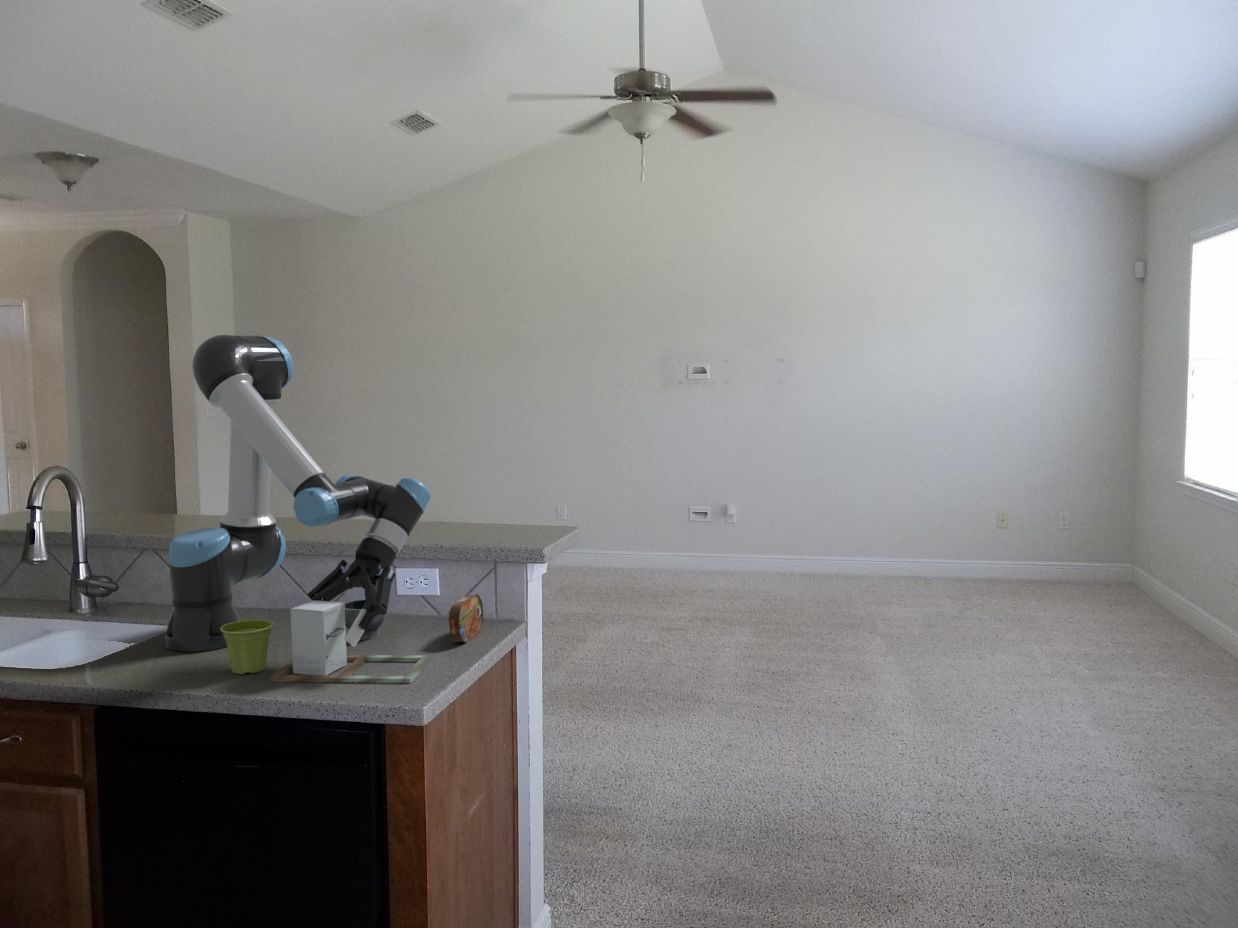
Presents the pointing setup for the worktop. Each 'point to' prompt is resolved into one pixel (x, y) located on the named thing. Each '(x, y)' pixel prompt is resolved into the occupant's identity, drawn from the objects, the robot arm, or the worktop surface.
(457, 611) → the tin
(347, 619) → the mortar and pestle
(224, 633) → the plant pot
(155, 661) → the worktop surface
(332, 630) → the supplement box
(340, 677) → the metal double frame
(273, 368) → the robot arm
